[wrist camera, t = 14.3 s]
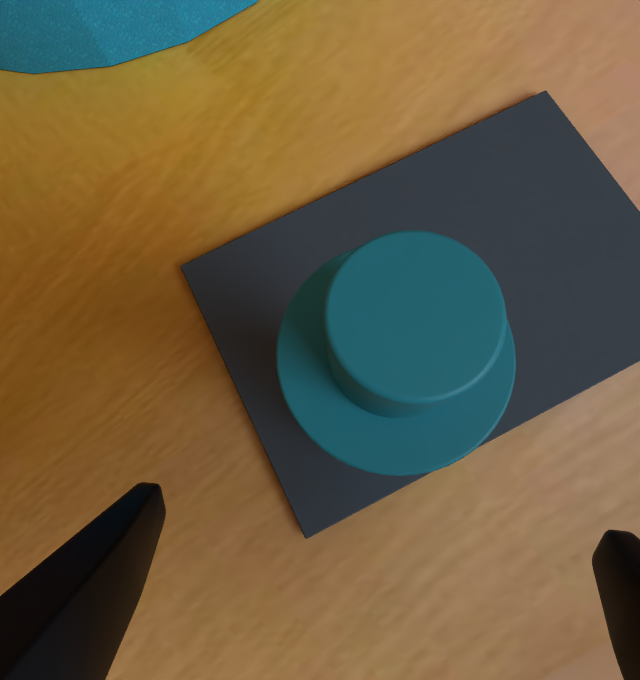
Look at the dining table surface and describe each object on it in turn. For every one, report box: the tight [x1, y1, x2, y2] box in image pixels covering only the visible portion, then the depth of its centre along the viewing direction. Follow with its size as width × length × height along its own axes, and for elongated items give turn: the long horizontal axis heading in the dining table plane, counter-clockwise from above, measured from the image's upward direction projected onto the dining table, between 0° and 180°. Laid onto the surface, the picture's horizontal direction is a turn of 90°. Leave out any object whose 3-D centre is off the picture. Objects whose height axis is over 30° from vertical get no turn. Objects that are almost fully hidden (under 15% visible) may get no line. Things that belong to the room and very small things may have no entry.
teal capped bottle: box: [276, 230, 516, 476], centre depth 11 cm, size 4×4×13 cm
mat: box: [181, 91, 640, 539], centre depth 19 cm, size 12×18×1 cm, turn 117°
